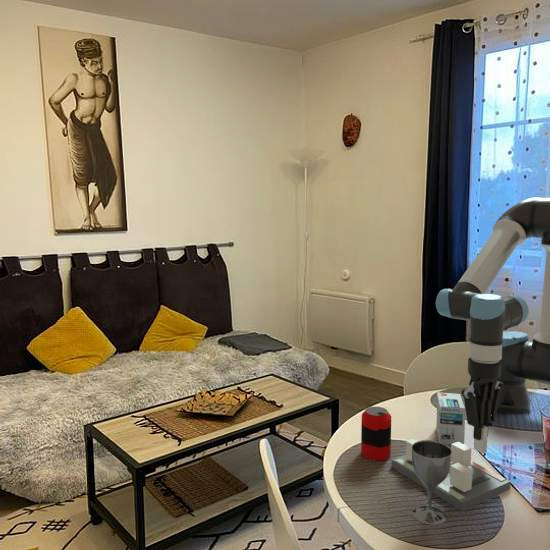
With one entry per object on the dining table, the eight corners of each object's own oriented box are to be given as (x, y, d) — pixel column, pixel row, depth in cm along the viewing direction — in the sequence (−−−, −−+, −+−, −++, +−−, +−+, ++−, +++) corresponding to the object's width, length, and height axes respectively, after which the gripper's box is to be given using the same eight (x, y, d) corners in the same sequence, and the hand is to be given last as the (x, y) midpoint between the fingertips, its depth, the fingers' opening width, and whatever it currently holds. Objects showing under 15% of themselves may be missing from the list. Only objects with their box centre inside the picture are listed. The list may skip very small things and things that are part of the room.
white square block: (457, 458, 135) (458, 441, 135) (470, 465, 132) (471, 448, 131) (450, 461, 134) (451, 444, 133) (463, 468, 131) (464, 450, 130)
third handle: (457, 480, 125) (457, 462, 125) (471, 489, 122) (472, 470, 121) (449, 483, 124) (450, 465, 123) (463, 492, 121) (464, 473, 120)
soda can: (373, 464, 138) (373, 419, 136) (355, 451, 145) (355, 408, 143) (396, 457, 142) (397, 413, 140) (378, 445, 148) (379, 403, 146)
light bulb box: (464, 446, 147) (466, 408, 145) (438, 444, 148) (439, 406, 146) (459, 428, 157) (461, 393, 155) (435, 427, 159) (436, 391, 157)
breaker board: (437, 450, 145) (437, 442, 144) (510, 489, 126) (510, 480, 126) (391, 466, 137) (391, 458, 136) (461, 511, 118) (462, 501, 118)
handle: (412, 455, 137) (413, 438, 137) (424, 462, 134) (425, 445, 133) (405, 458, 136) (406, 441, 135) (417, 464, 133) (418, 447, 132)
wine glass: (405, 505, 121) (406, 441, 118) (440, 502, 121) (442, 439, 119) (417, 527, 113) (419, 459, 110) (455, 524, 114) (457, 457, 111)
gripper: (489, 350, 139) (485, 438, 143) (453, 359, 132) (449, 450, 136) (515, 358, 132) (510, 449, 136) (479, 368, 126) (474, 463, 130)
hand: (480, 450), depth 136 cm, fingers closed
